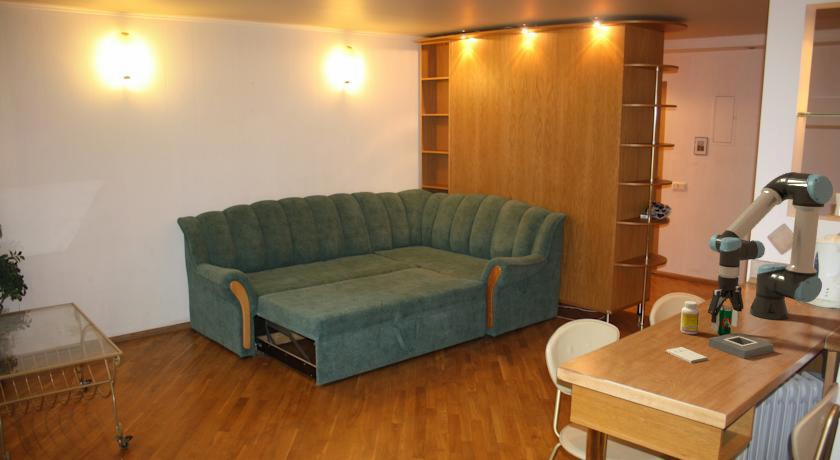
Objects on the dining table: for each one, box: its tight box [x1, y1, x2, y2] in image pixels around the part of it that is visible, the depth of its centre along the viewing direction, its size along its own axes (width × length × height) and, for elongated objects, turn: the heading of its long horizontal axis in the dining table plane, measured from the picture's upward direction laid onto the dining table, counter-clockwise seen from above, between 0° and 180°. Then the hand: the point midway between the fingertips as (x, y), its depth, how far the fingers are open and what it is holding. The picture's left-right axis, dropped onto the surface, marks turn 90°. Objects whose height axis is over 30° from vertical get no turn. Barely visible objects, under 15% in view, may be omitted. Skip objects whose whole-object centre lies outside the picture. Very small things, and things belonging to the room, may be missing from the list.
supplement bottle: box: [680, 300, 700, 335], centre depth 272 cm, size 7×7×13 cm
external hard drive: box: [665, 346, 709, 364], centre depth 247 cm, size 2×8×12 cm
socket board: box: [708, 331, 775, 360], centre depth 253 cm, size 16×16×3 cm
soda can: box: [716, 304, 734, 336], centre depth 268 cm, size 5×5×12 cm
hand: (724, 328), depth 269 cm, fingers open, 11 cm apart
